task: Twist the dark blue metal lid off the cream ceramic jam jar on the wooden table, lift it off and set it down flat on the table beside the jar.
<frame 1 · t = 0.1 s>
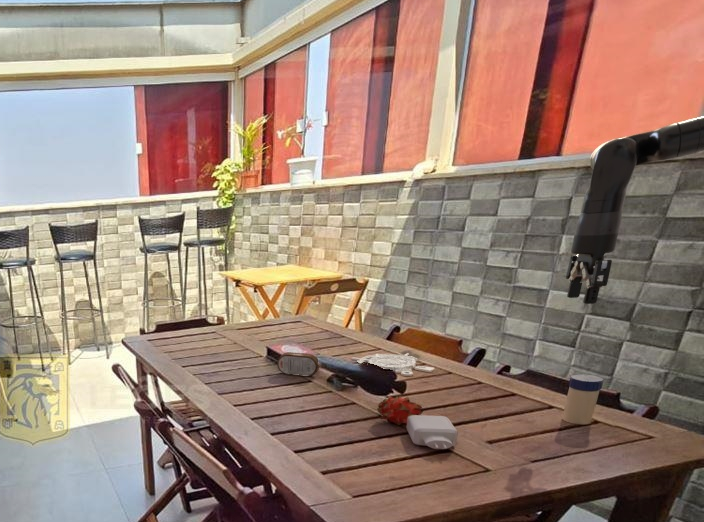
hand: (580, 300, 122), 31 cm above the counter, tool pointing down, fingers open, 8 cm apart
charger: (432, 444, 124), on the counter
jar: (576, 420, 128), on the counter
jar lid: (586, 379, 124), point 11 cm above the counter, screwed on, not yet turned
pendant: (391, 365, 184), on the counter
tin: (297, 375, 184), on the counter
dragon fruit: (398, 422, 138), on the counter
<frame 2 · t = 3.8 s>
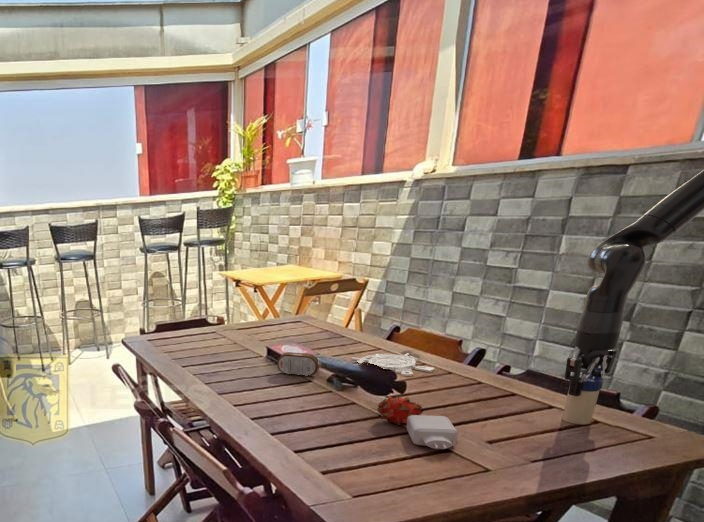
hand: (583, 392, 125), 8 cm above the counter, tool pointing down, fingers closed on jar lid, 6 cm apart
jar lid: (586, 379, 124), point 11 cm above the counter, screwed on, not yet turned, touching gripper
everything else where it was.
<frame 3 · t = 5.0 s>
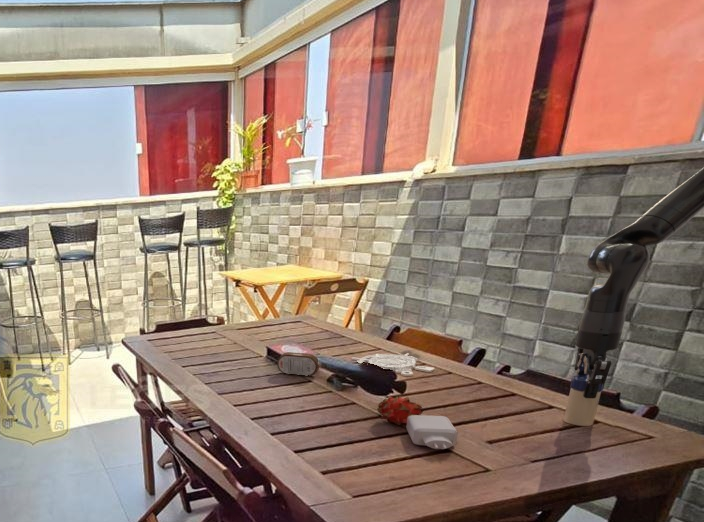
hand: (584, 393, 124), 8 cm above the counter, tool pointing down, fingers closed on jar lid, 6 cm apart
jar: (578, 421, 127), on the counter
jar lid: (588, 380, 123), point 11 cm above the counter, turned 38° so far, risen 0.1 cm, still on its thread, touching gripper
everything else where it was.
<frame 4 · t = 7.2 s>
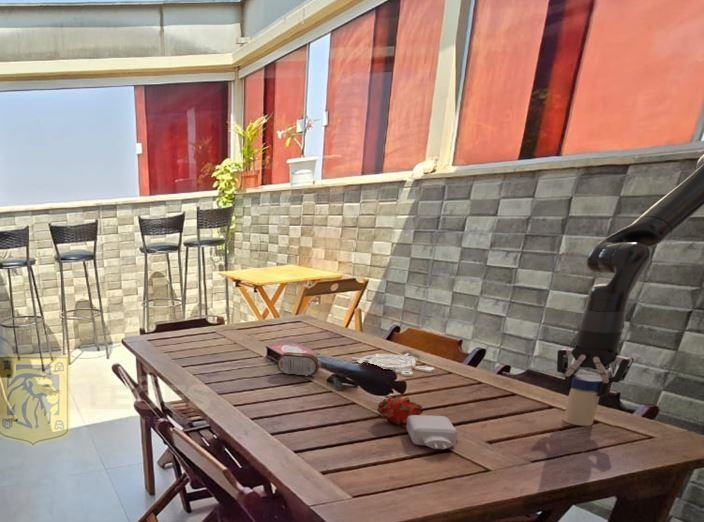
hand: (584, 392, 124), 8 cm above the counter, tool pointing down, fingers closed on jar lid, 6 cm apart
jar: (577, 421, 127), on the counter
jar lid: (588, 379, 123), point 12 cm above the counter, turned 89° so far, risen 0.3 cm, still on its thread, touching gripper
everything else where it was.
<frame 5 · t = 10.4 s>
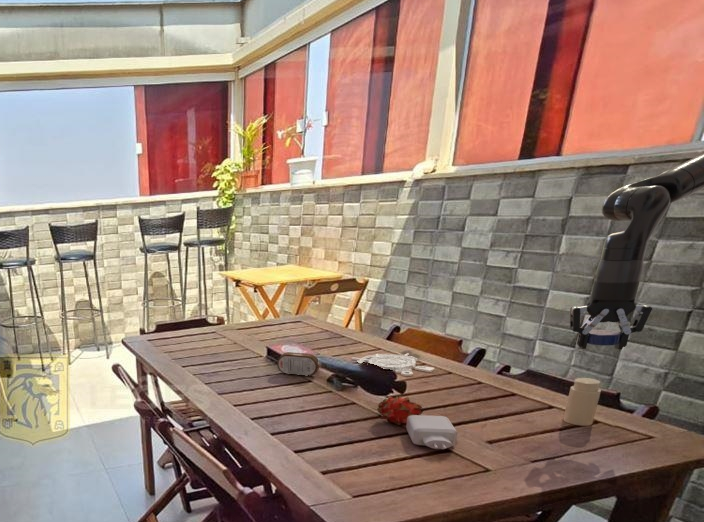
hand: (600, 348, 120), 20 cm above the counter, tool pointing down, fingers closed on jar lid, 6 cm apart
jar: (577, 421, 127), on the counter
jar lid: (603, 334, 119), point 23 cm above the counter, off its thread, touching gripper
everything else where it was.
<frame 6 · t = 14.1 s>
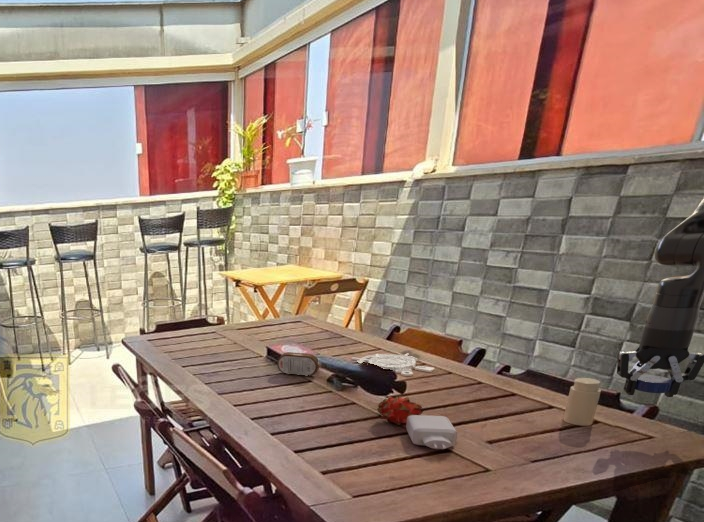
hand: (648, 394, 115), 10 cm above the counter, tool pointing down, fingers closed on jar lid, 6 cm apart
jar lid: (652, 380, 114), point 13 cm above the counter, off its thread, touching gripper
everything else where it was.
when the fingers open (0 cm above the counter, at t = 17.3 s): jar lid stays where it is, point 2 cm above the counter.
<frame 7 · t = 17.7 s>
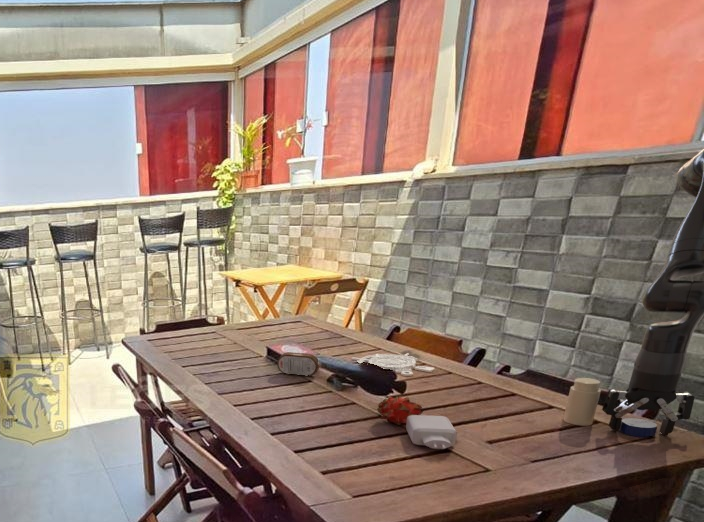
hand: (638, 432, 118), 0 cm above the counter, tool pointing down, fingers open, 8 cm apart
jar lid: (638, 424, 118), point 2 cm above the counter, off its thread
everything else where it was.
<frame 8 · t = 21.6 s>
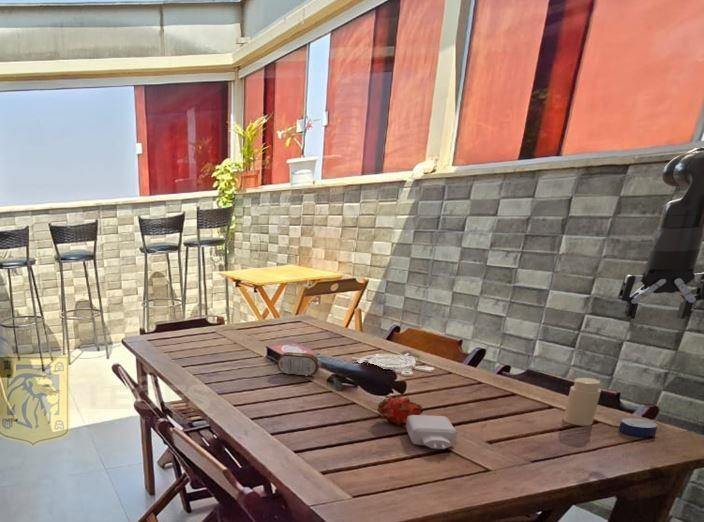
hand: (655, 318, 117), 26 cm above the counter, tool pointing down, fingers open, 8 cm apart
nothing on the counter moved.
at the end: jar lid came off its thread; jar lid point 2.1 cm above the counter; the gripper is holding nothing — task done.
